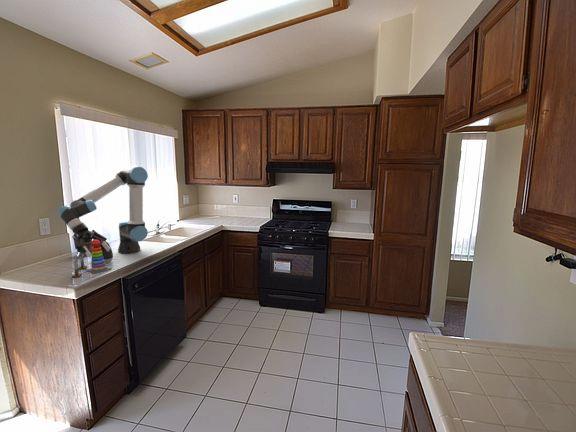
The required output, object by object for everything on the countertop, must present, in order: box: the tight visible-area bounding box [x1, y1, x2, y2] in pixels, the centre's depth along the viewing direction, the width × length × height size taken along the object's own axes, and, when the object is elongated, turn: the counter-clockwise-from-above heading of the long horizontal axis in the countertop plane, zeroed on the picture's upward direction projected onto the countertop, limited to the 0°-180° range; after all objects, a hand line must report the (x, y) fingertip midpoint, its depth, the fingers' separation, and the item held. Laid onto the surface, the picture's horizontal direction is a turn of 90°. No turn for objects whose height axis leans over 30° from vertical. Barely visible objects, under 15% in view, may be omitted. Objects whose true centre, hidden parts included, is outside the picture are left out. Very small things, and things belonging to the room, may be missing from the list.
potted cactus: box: [99, 241, 114, 265], centre depth 196 cm, size 10×10×15 cm
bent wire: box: [71, 251, 88, 279], centre depth 177 cm, size 4×18×13 cm, turn 24°
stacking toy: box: [90, 239, 107, 271], centre depth 180 cm, size 8×8×19 cm
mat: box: [84, 266, 112, 275], centre depth 182 cm, size 10×10×1 cm
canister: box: [76, 236, 93, 257], centre depth 212 cm, size 10×10×18 cm
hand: (100, 252), depth 179 cm, fingers open, 13 cm apart
